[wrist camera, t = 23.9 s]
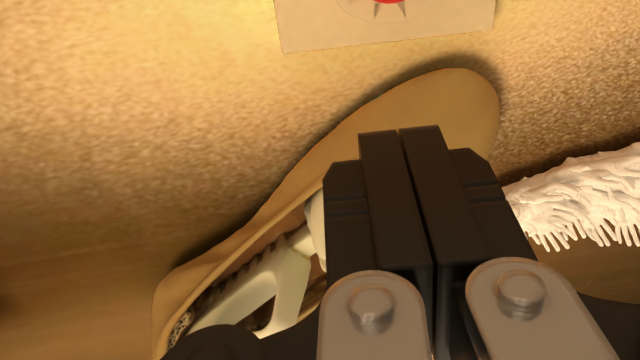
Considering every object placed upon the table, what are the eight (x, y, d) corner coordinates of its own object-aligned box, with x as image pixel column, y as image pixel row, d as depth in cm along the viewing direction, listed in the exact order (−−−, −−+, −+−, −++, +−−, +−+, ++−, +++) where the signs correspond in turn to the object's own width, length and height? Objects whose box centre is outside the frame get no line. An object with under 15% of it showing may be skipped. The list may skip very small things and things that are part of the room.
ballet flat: (533, 126, 35) (599, 222, 27) (238, 341, 48) (224, 449, 40) (434, 17, 31) (479, 92, 23) (137, 286, 43) (99, 395, 35)
